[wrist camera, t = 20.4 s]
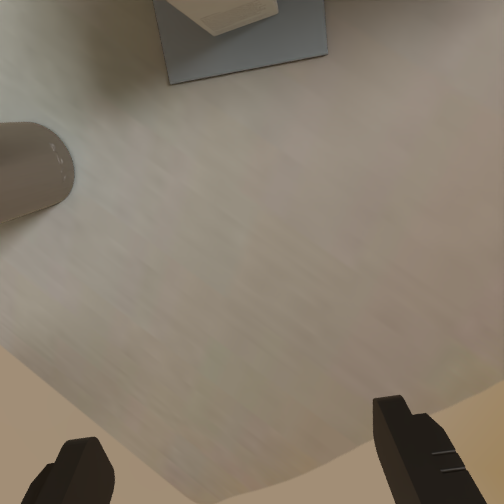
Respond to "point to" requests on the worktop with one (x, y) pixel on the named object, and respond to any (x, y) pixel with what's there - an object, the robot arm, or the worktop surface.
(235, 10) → the small box
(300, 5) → the mat
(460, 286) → the worktop surface
